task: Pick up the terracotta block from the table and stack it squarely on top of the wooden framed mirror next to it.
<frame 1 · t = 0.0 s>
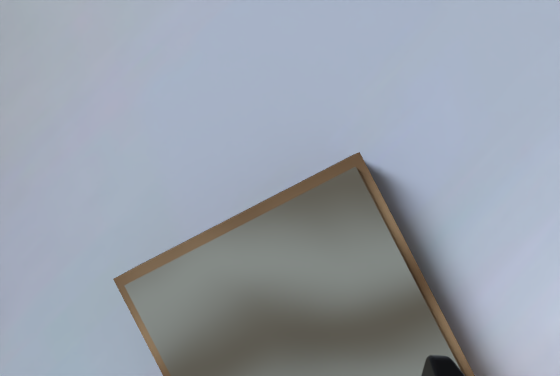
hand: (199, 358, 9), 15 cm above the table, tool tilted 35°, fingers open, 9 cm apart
wooden framed mirror: (298, 322, 24), on the table
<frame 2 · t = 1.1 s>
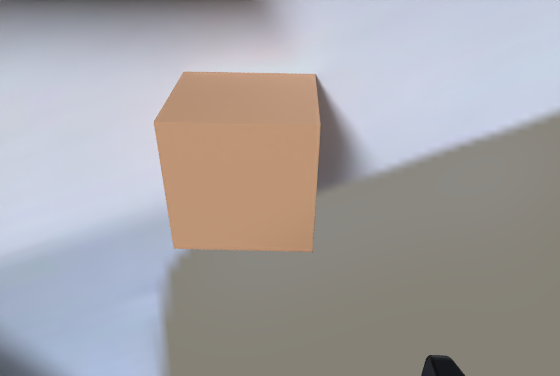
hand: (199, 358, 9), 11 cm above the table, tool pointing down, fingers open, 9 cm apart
terracotta block: (251, 131, 19), on the table
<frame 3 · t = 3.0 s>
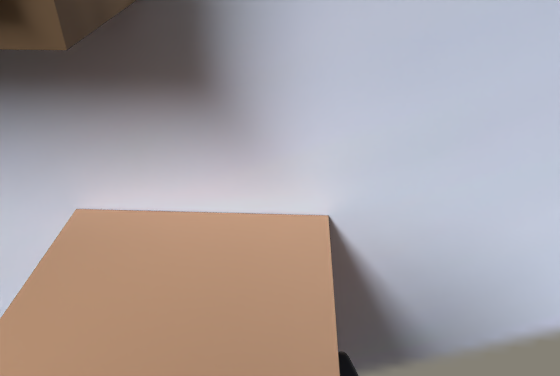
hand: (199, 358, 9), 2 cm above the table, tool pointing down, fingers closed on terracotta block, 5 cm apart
terracotta block: (211, 300, 10), on the table, touching gripper
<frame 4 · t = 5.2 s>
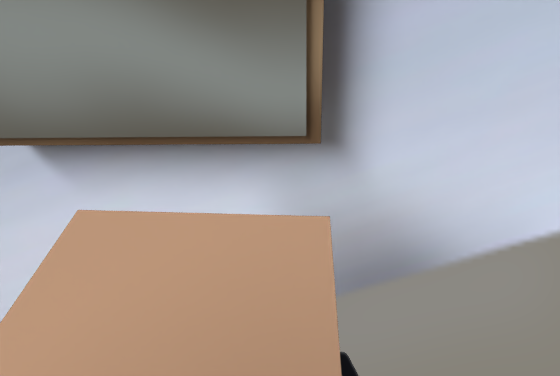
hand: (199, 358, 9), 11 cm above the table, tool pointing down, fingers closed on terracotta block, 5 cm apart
terracotta block: (212, 301, 10), point 10 cm above the table, touching gripper
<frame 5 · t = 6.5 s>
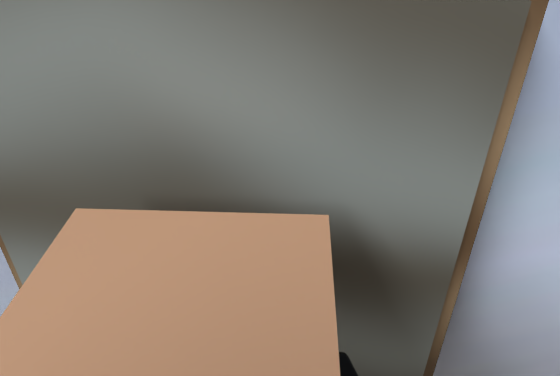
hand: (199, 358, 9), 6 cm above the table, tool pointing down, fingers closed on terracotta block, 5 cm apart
wooden framed mirror: (239, 179, 14), on the table
terracotta block: (211, 299, 10), point 5 cm above the table, touching gripper
when the fingers open (6 cm above the table, at t = 7.4 s): terracotta block drops 1 cm, resting on wooden framed mirror.
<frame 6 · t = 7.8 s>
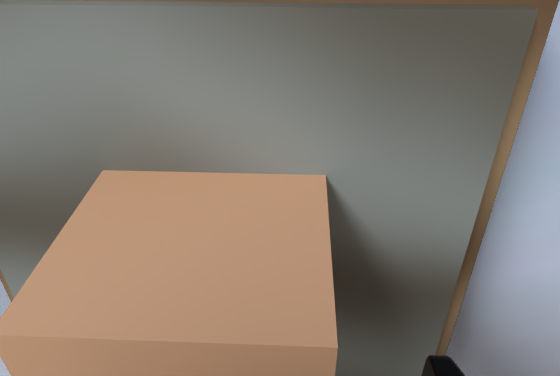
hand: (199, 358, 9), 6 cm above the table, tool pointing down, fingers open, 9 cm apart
wooden framed mirror: (236, 189, 14), on the table
terracotta block: (221, 256, 12), point 3 cm above the table, touching wooden framed mirror
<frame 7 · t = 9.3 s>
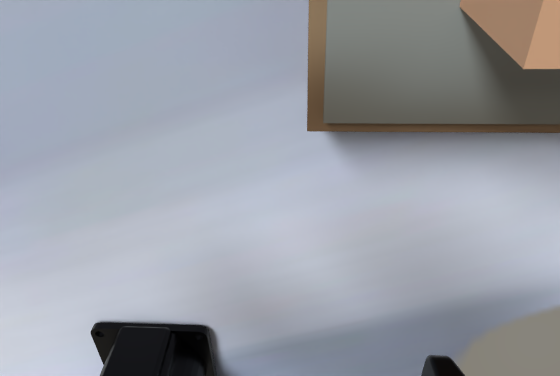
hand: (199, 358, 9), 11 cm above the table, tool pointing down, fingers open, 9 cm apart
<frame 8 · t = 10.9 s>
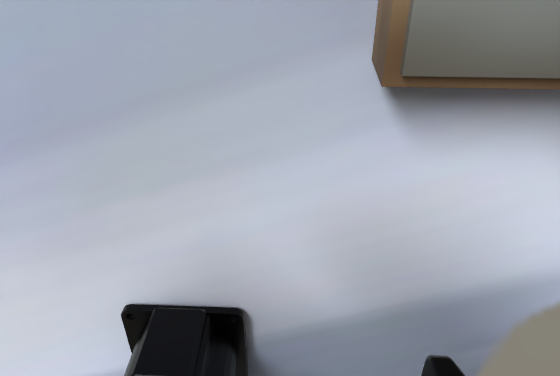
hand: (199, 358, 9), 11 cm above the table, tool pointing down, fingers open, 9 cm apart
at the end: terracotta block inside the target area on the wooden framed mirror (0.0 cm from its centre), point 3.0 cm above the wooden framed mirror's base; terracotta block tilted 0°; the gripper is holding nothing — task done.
